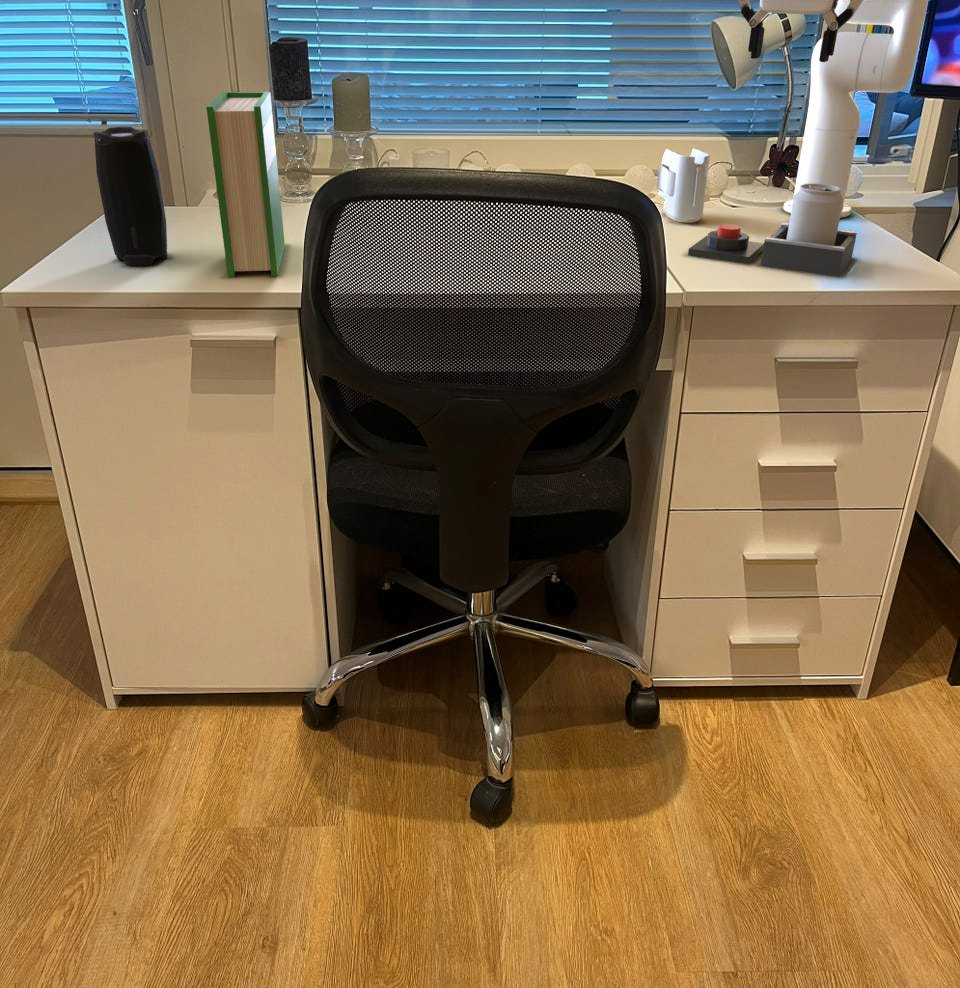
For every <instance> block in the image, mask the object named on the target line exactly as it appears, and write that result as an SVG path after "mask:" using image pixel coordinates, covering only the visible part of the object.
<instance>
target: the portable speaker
mask: <svg viewBox="0 0 960 988" xmlns="http://www.w3.org/2000/svg"><path fill="white" fill-rule="evenodd" d="M93 138H94V151H95V152H94V153H95V154H94V155H95V170H96V177H97V178H96V179H97V182H98V188H99V193H100V200H101V204H102V209H103V215H104V219H105V225H106V228H107V231H108V235H109V239H110V243H111V246H112V249H113V252H114V255H115V256H116V259H117V260H118V261H123V262H124V264H125V265H126V266H129V267H141V266H142V267H143V266H152V265H153V263H154V261H155V260H156V259H158V258H162V259H163V260H166V259H168V232H167V230H168V229H167V217H166V212H165V211H166V210H165V203H164V197H163V191H162V184H161V178H160V172H159V167H158V163H157V161H156V156H155V154H154V153H155V152H154V150H153V147H152V144H151V139H150V135H149V130H148V129H142V130H141V129H137V128H134V127H132V126H121V125H120V126H113V127H108V128H107V129H105V130H102V131H93Z"/></svg>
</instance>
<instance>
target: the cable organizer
mask: <svg viewBox="0 0 960 988" xmlns="http://www.w3.org/2000/svg"><path fill="white" fill-rule="evenodd" d="M710 158H711V154H709V153H707V152H705V151H704V150H703V151H702V150H700V149H698V148H696V147H693V148H692V151H691V153H690V155H689V156H688V155H683V154H680V153H677V152H675V151H674V150H670V149H668V148H665V150H664V153H663V156H662V158H661V165H658V167H657V169H658V170H657V177H656V189H658V196H659V197H660V198H662V199H664V201H663V207H662V209H663V212H664V214H665V216H666V217H668V218H669V219H671V220H673V221H675V222H678V223H683V224H684V223H686V224H690V223H691V224H692V223H693V224H694V223H696V222H698V221H699V220H701V218H703V215H704V208H705V199H706V192H707V183H708V177H709V175H708V174H709V167H710V160H711V159H710Z"/></svg>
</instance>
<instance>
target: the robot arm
mask: <svg viewBox="0 0 960 988" xmlns="http://www.w3.org/2000/svg"><path fill="white" fill-rule="evenodd" d="M737 3H738V6H739V8H740V14H741V16H742V17H743V18H744V20H746V22H747V23H748V26H749V27H750V32H749V33H750V34H749V42H748V52H749V53H750V59H753V60H756V59H759V58H761V56H762V50H763V43H764V37H765V31H766V28H765V27H764V22H765V21H766V20H767V19H769V17H770V16H771V15H772V14H785V15H786V14H787V15H789V14H790V15H821V17H822V19H823V20H824V22H825V24H826V30H824V31H823V36H822V37H821V38H820V39H818V41H817V42H816V44H815V46H814V48H813V51H812V54H811V61H810V63H811V64H810V91H809V99H808V101H809V102H808V108H807V114H806V115H807V116H806V121H805V127H804V133H803V139H802V144H801V145H802V146H801V150H800V156H799V162H798V169H797V175H796V178H795V179H796V180H795V184H794V185H795V186H794V191H793V198H794V195H795V194H796V193H797V192H798V191H799V190H800V185H803V184H811V183H817V184H828V185H834V186H837V187H840V188H841V191H840V194H841V195H842V197H843V198H844V199H843V205H842V210H841V215H840V219H841V218H847V217H848V216H850V215H851V213H852V207H851V206H850V205H848V204H845V201H846V200H845V199H846V195H847V190H848V185H849V180H850V174H851V169H852V165H853V164H852V163H853V159H854V154H855V150H856V149H855V148H856V144H857V138H858V134H859V129H860V124H861V112H860V109H859V106H858V104H857V103H856V100H855V99H854V97H853V96H852V94H851V93H852V92H864V93H865V92H866V93H884V94H893V93H899V92H901V91H902V90H904V89H905V88H906V87H907V86H908V84H909V82H910V79H911V77H912V74H913V71H914V67H915V63H916V59H917V55H918V49H919V45H920V41H921V36H922V33H923V32H922V31H923V27H924V22H925V18H926V13H927V8H928V4H929V0H759V10H757V11H755V10H754V9H753V7H752V6H751V2H750V0H737ZM845 24H853V25H874V26H875V25H877V26H890V27H891V28H892V29H893V33H875V32H872V33H871V32H862V31H861V32H859V31H857V32H856V31H839V30H840V29H841V28H842V27H843V26H844V25H845ZM793 198H792V199H791V200H787V201H785V202H784V203H783V211H784V212H786V213H789V214H791V210H792V204H793Z"/></svg>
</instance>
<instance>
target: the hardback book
mask: <svg viewBox="0 0 960 988" xmlns="http://www.w3.org/2000/svg"><path fill="white" fill-rule="evenodd" d="M205 107H206V115H207V123H208V131H209V139H210V146H211V154H212V161H213V162H212V163H213V169H214V177H215V185H216V193H217V201H218V209H219V218H220V226H221V232H222V233H221V234H222V239H223V250H224V255H225V264H226V273H227V277H228V278H234V277H235V276H236V273H237V272H257V271H258V272H259V271H260V272H262V271H264V272H265V271H270V276H271V277H273V276H274V277H278V276H279V271H280V267H281V264H282V259H283V255H284V251H285V247H286V243H285V241H286V240H285V232H284V224H283V223H284V222H283V212H282V211H283V210H282V201H281V190H280V180H279V170H278V168H279V167H278V158H277V148H276V138H275V127H274V126H275V125H274V118H273V107H272V97H271V91H221V92H220V93H219V94H218V95H217V96H216V97H215V98H214V99H213V100H212V101H211V102H210V103H209V104H208V105H206V106H205Z"/></svg>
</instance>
